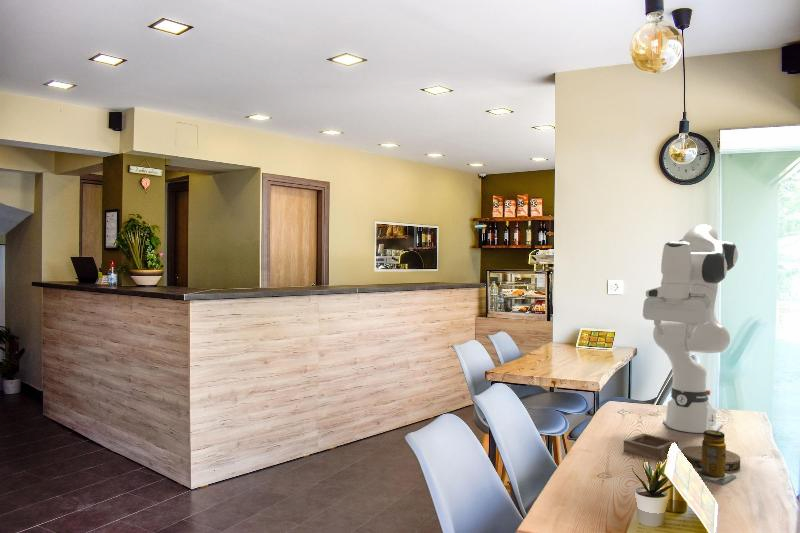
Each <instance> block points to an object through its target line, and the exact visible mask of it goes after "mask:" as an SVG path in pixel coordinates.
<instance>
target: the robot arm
mask: <svg viewBox="0 0 800 533" xmlns="http://www.w3.org/2000/svg"><path fill="white" fill-rule="evenodd" d="M661 257H662V258H661V264H660V265H661V266H660V268H661V270H660V271H661V272H660V273H661V274H662V278H661V281H660V286H659V287H654V288H651V289H648V290H646V291H645V296H646V298H645V300H644V301H643V307H642V317H643V318H644V320H649V321H653V324H654V328H653V331H652V336H653V340H654V343H655V344H656V345H657V346H658V347H659V348H660V349H661V350H662V351H663V352H664V353H665V354H666V355H667V358H668V359H669V362H670V365H671V369H672V371H671V372H672V387H671V389H670V390H671V391H670V398H671V399H670V400H668V402H667V408H666V418H665V419H663V420H662V424H664V425H666V426H667V427H668V428H670V429H673V430H676V431H680V432H685V433H695V434H697V433H698V434H704V431H706V430H715V431H720V429H721V428H722V427H723V422H721V421H718V420H717V419H716V418H717V413H716V412H717V411H716V410H717V409H715V407H714V406H713V405H712V404H711V403H710V402H709V396H711V390H710V389H707V371H706V368H705V367H704V365H702V364H701V363H699V362H698V361H696V360H694V359H693V358H692V356H691V354H690V352H693V353H701V354H719V353H724V352H725V351H726V350H727V349H728V348H729V345H730V343H731V342H730V341H731V337H730V336H731V335H730V333H729V330H728V329H727V328H726V327H725V326H724V325H722V323H720V322H719V321H718V319H717V318H716V315H715V305H716V301H717V300H716V299H717V294H718V289H719V288H718V287H719V286H718V285H719V283H720V282H722V281H723V280H724V279H726V276H727V273H728V272H729V271H730V270H731V269H733V268H734V267H735V265H736V263H737V261H738V258H739V252H738V248H737V246H736V244H735V243H734V242H731V241H726V240H725V241H722V240H718V233H717V231H716V230H715V228H714V227H712V226H711V225H708V224H698V225H696V226H692V228H690V229H688V231H687V232H686V233H685V234H684V235H683V237H682V239H679V240H677V241H676V240H675V241H668V242H666V243H664V245H663V249H662V255H661Z"/></svg>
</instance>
